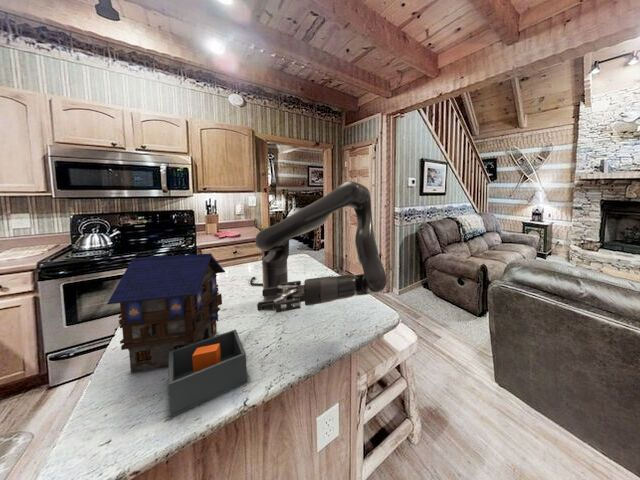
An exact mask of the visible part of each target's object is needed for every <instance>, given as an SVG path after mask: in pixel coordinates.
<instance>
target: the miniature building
mask: <svg viewBox="0 0 640 480" xmlns="http://www.w3.org/2000/svg"><path fill="white" fill-rule="evenodd" d="M223 273H226V270H225V269H224V267H222V266H221V265H220V263H219V262H218V261H217V260H216V258H215V257H214V255H213V254H212V253H210V252H209V253H196V254H180V255H179V254H178V255H164V256H150V257H149V256H148V257H132V258H131V260H130V262H129V264H128V266H127V268H126V269H125V271H124V273H123V275H122V276H121V279H120V280H119V282H118V283H117V286H116V287H115V289H114V291H113V292H112V294H111V296H110V298H109V300H108V301H107V302H106V305H113V304H114V305H115V304H119V307H120V309H119V310H120V314H119V315H118V319H119V320H118V325H119V329H121V331H122V339H121V340H120V341H119V345H120V344H122V345H121V347H120V348H121V351H125V350H128V353H129V356H128V357H129V366H130V373H131V374H132V373H139V372H145V371H151V370H157V369H163V368H169V352H170V351H173V350H176V349H179V348H182V347H185V346H188V345H191V344H194V343H197V342H200V341H203V340H205V339H208V338H211V337H214V336H217V334H218V330H217V329H218V328H217V322H219V312H220V311H221V307H219V306H222V305H223V296H222V293H219V284H218V283H217V276H218V274H223Z"/></svg>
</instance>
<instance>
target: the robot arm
mask: <svg viewBox="0 0 640 480" xmlns="http://www.w3.org/2000/svg"><path fill="white" fill-rule="evenodd" d="M347 207H348V208H352V209H353V210H354V213H355V216H356V230H355V237H354V240H355V241H354V243H355V249H356V256H357V259H358V260H357V261H358V263H359V264H360V266H361V268H362V272H363V273H361V274H342V275H335V276H331V275H330V276H321V277H314V278H305V280H304V284H302V281H301V280H295V281H294V280H293V281H289V278H288V277H289V275H288V258H289V256H290V239H292V238H295V237H298V236H302V235H304V234H308V233H309V232H311V231H313V230H315V229H318V228H319V227H321V226H323V225H324V224H326V222H327V220H328V219H329V217H330V216H331V215H332V214H333V213H335V212H337V211H338V210H342V209H343V208H347ZM254 242H255V246H256V247H257V248H258V249H259V250H261V251H264V252H268V253H267V255H266V256H264V257H263V259H262V260H261V269H262V273H261V274H262V283H261V282H260V283H258V282H253V281H254V280H256V277H255V276H252V277H251V278H250V281H249V283H250V284H251V285H252V286H262V293H261V294H262V297H263V300H262V301H258V302H257V304H256V305H257V306H256V307H257V311H258V312H261V311H269V310H274V311H275V313H276V314H279V313H283V312H288V311H289V312H290V311H293V310H299V309H301V306H302V304H301V303H302V302H304V306H306V307H307V306H314V305H320V304H326V303H330V302H331V303H332V302H335V301H339V300H344V299H345V300H346V299H349V298H353V297H358V296H359V297H360V296H366V295H374V294H378V293H381V292H382V291H383V290H385V288H386V287H387V282H388V281H387V280H388V279H387V274H386V271H385V268H384V266H383V263H382V261H381V259H380V256H379V254H380V253H379V249H378V245H377V241H376V236H375V231H374V223H373V213H372V198H371V192H370V190H369V188H368V187H367V186H366V185H363V184H361V183H359V182H356V181H353V180H348V181H345V182H342V183H341V184H339V185H338V186H337V187H336V188H334V189H333V190H332V191H330V192H329V193H327V194H326V195H324V196H322V197H321V198H319V199H316V200H315V201H314V202H312V203H310V204H308V205H306V206H304V207H302V208H301V209H299V210H297V211H296V212H294V213H292V214H291V215H289V216H287V217H286V218H284V219H283V220H281V221H279V222H277V223H275V224H273V225H271V226H268V227H265V228H262V229H261V230H260V231H259V232H257V234H256V236H255V240H254Z"/></svg>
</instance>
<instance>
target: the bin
mask: <svg viewBox="0 0 640 480" xmlns="http://www.w3.org/2000/svg"><path fill="white" fill-rule="evenodd" d="M219 343H220V352H221V362H220V363H217V364H215V365H212V366H210V367H207V368H205V369H202V370H200V371H197V372H195V373H193V360H192V355H193V354H194V352H195V350H196V349H197V348H199V347H204V346H209V345H214V344H219ZM247 366H248V365H247V352H246V351H245V348H244V346H243V344H242V341H241V339H240V335H239V334H238V331H237V329H232V330H230V331H226V332H223V333H221V334H218V335H217V334H216V335H215V336H214V337H211V338H208V339H205V340H203V341H200V342H197V343H194V344H191V345H188V346H185V347H182V348H179V349H176V350H173V351H170V352H169V367H168V369H167V370H168V372H167V374H168V375H167V389H168V390H167V391H168V403H169V415H170V418H173V417H175V416H178V415H179V414H181V413H184V412H186V411H188V410H190V409H192V408H194V407H196V406H199V405H201V404H203V403H205V402H208V401H209V400H211V399H213V398H216V397H218V396H220V395H222V394H224V393H227V392H230V391H231V390H233V389H235V388H237V387H239V386H242V385H243V384H246V383H248V369H247Z"/></svg>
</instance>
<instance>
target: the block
mask: <svg viewBox="0 0 640 480" xmlns="http://www.w3.org/2000/svg"><path fill="white" fill-rule="evenodd" d="M192 360H193V373H195V372H197V371H200V370H202V369H205V368H207V367H210V366H212V365H215V364H217V363H220V362H221V352H220V343H219V344H214V345H209V346H204V347H199V348H197V349H196V350H195V352H194V354H193V355H192Z"/></svg>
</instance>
